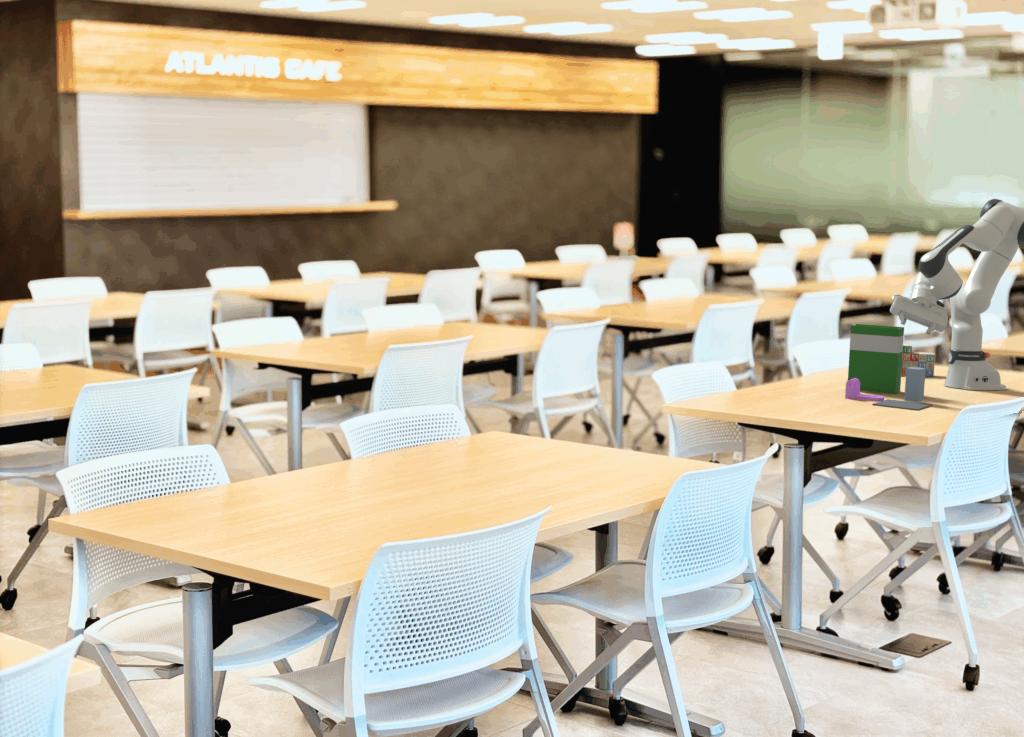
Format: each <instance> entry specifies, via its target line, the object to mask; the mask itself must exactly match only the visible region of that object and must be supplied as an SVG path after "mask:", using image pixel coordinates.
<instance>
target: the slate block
mask: <svg viewBox="0 0 1024 737" xmlns="http://www.w3.org/2000/svg"><path fill="white" fill-rule="evenodd" d="M925 369H926V368H918V367H909V368H906V375H905V382H904V386H905V388H904V400H903V401H907V402H916V403H924V399H925V398H924V397H925V396H924V395H925V386H926V385H925V383H926V382H925V381H926V377H925Z"/></svg>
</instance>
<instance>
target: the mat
mask: <svg viewBox="0 0 1024 737" xmlns="http://www.w3.org/2000/svg"><path fill="white" fill-rule="evenodd" d="M871 405H872V406H877V407H879V406H880V407H884V408H885V407H886V408H887V407H888V408H893V409H900V410H901V409H903V410H911V411H920V410H923V409H927V408H930V407H932V406H933V405H934V404H933V403H932V404H931V403H924V402H922V403H916V402H907V401H904V400H897V399H889V398H887V399H884V401H876V402H873V403H872V404H871Z"/></svg>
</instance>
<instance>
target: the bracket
mask: <svg viewBox="0 0 1024 737" xmlns="http://www.w3.org/2000/svg"><path fill="white" fill-rule="evenodd" d="M844 394H845V396H844V398H845V399H847V398H850V399H851V400H858V399H859V401H870V402H880V401H884V400H885V396H883V395H877V394H864V393H861V391H860V381H859V379H857V378H853V379H851V380H848V379H847V381H846V383H845V393H844ZM850 399H849V400H850Z"/></svg>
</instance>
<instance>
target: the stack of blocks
mask: <svg viewBox="0 0 1024 737" xmlns="http://www.w3.org/2000/svg"><path fill="white" fill-rule="evenodd" d="M935 357H936V353H935V352H922V351H913V344H909V343H903V354H902V370H901V376H906V368H909V367H918V368H926V369H925V378H926V377H928V378H934V375H935V374H934V373H935V363H936V362H935V361H936V360H935Z"/></svg>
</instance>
